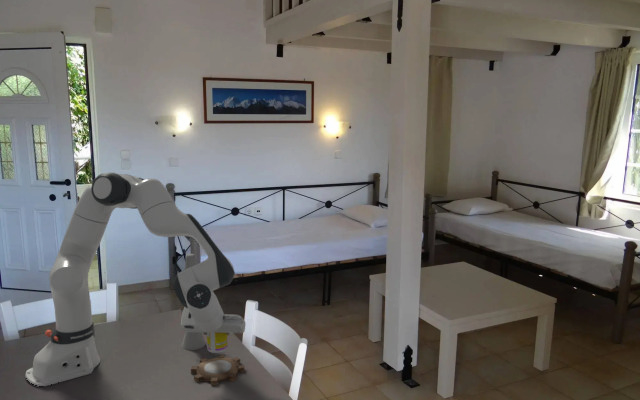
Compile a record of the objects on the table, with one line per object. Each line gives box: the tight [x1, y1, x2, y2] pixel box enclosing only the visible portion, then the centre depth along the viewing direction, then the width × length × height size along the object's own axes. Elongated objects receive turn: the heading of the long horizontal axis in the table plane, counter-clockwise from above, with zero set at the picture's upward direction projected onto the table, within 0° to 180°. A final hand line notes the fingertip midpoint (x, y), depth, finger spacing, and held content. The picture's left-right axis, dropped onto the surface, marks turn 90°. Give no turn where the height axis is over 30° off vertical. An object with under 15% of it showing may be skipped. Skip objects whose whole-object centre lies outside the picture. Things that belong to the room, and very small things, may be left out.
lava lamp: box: [179, 253, 206, 351], centre depth 185 cm, size 9×9×35 cm
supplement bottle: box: [206, 333, 229, 354], centre depth 166 cm, size 7×7×13 cm
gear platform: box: [190, 354, 246, 386], centre depth 168 cm, size 18×18×2 cm
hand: (217, 333), depth 166 cm, fingers closed on supplement bottle, 7 cm apart
